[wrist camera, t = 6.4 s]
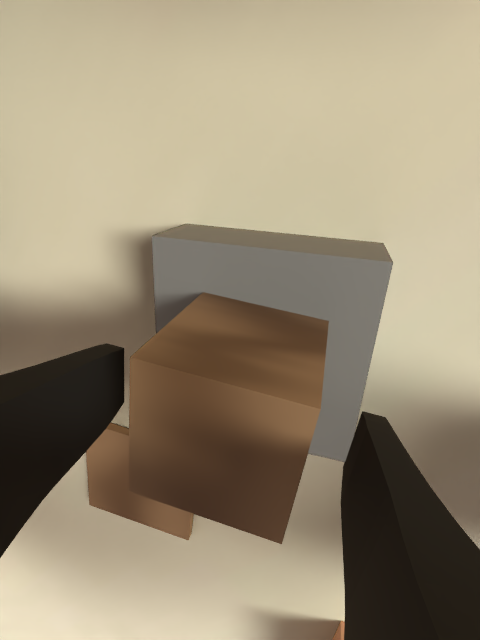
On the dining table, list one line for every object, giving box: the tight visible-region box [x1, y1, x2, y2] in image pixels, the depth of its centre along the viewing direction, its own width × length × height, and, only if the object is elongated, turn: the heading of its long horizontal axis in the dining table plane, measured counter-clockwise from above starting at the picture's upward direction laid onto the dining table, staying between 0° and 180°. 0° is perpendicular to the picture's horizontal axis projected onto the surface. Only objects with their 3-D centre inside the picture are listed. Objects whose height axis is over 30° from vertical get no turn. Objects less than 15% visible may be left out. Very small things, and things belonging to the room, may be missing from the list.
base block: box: [152, 224, 393, 462], centre depth 15 cm, size 8×8×4 cm
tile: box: [86, 423, 194, 540], centre depth 22 cm, size 7×7×1 cm
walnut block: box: [128, 292, 329, 544], centre depth 11 cm, size 4×4×5 cm
